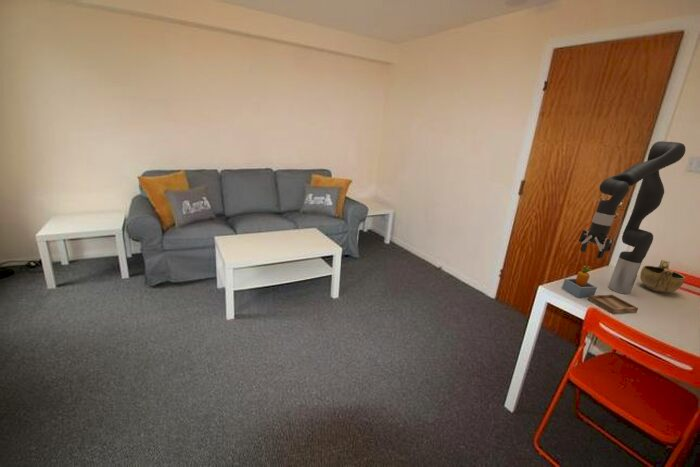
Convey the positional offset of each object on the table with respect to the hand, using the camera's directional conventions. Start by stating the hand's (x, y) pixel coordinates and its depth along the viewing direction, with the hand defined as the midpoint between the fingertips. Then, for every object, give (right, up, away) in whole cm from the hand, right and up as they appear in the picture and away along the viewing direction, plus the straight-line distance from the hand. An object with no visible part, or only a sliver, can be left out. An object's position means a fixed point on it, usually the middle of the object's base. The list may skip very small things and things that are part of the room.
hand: (590, 254), depth 160 cm
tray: (+7, -24, -4) cm, 25 cm away
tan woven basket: (+50, -20, +20) cm, 58 cm away
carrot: (-2, -20, +6) cm, 21 cm away
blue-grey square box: (-2, -19, +6) cm, 21 cm away
